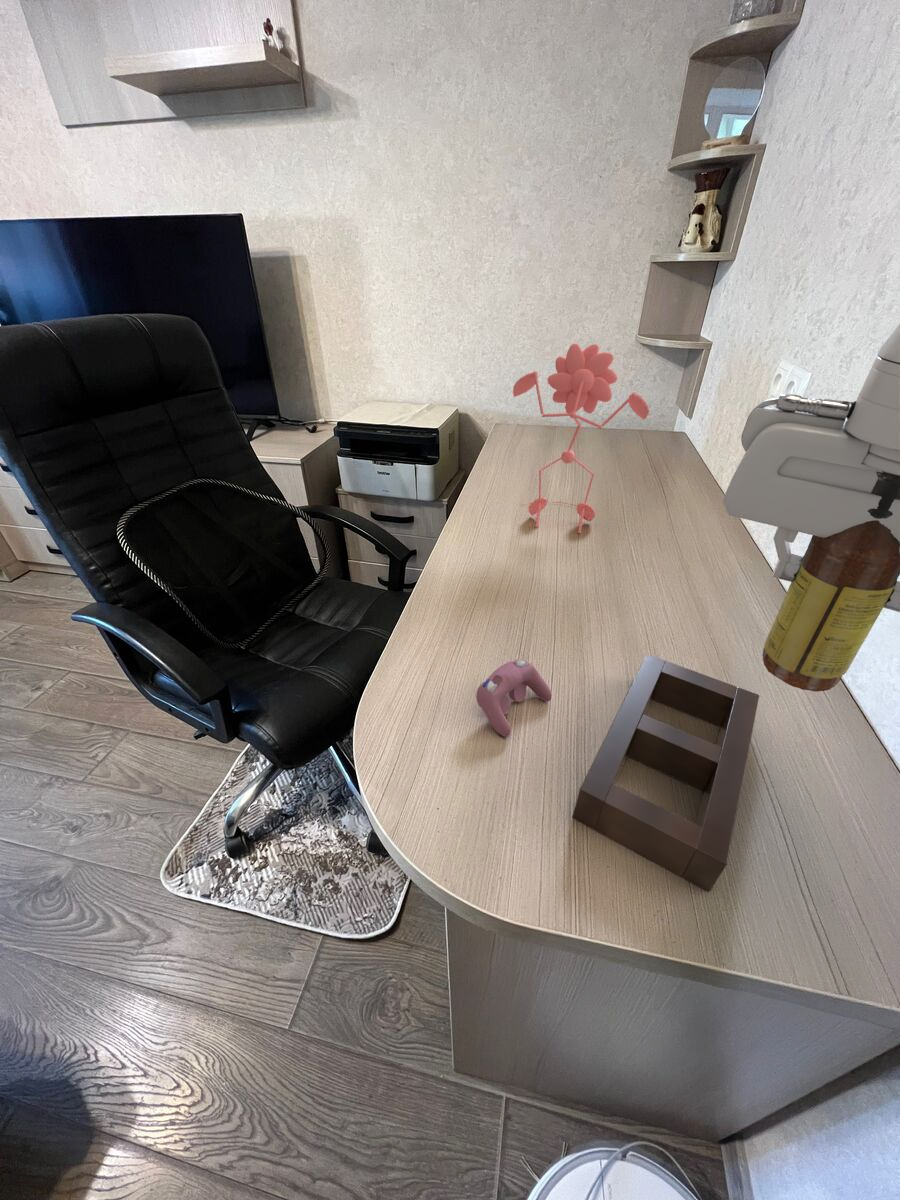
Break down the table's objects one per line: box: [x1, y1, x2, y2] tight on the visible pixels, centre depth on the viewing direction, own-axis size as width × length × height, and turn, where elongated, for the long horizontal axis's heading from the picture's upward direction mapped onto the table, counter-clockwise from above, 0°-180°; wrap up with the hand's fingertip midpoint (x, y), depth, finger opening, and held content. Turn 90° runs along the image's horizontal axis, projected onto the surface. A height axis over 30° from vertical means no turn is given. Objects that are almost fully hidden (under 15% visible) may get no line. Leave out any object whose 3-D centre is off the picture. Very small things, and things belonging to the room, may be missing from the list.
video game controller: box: [475, 659, 552, 737], centre depth 64 cm, size 10×5×7 cm, turn 135°
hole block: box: [572, 653, 760, 893], centre depth 56 cm, size 14×24×5 cm, turn 147°
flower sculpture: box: [512, 343, 650, 538], centre depth 102 cm, size 15×26×35 cm, turn 74°
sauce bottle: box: [762, 471, 900, 692], centre depth 39 cm, size 7×6×20 cm
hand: (836, 591), depth 40 cm, fingers closed on sauce bottle, 6 cm apart
